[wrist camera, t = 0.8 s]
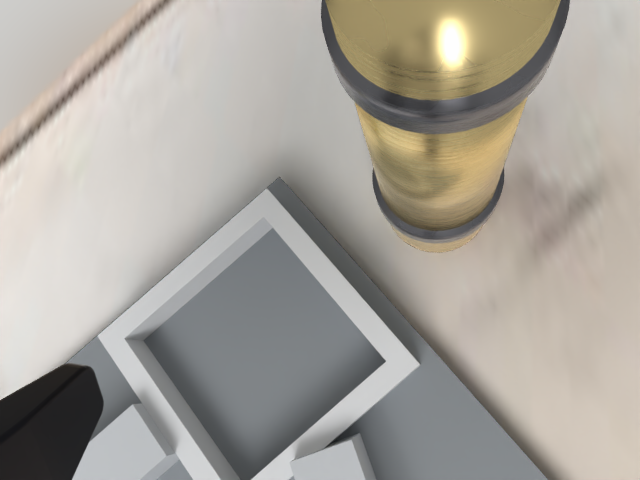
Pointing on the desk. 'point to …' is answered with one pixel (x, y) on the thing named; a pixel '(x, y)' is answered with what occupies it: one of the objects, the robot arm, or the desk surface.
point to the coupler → (440, 101)
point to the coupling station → (281, 371)
